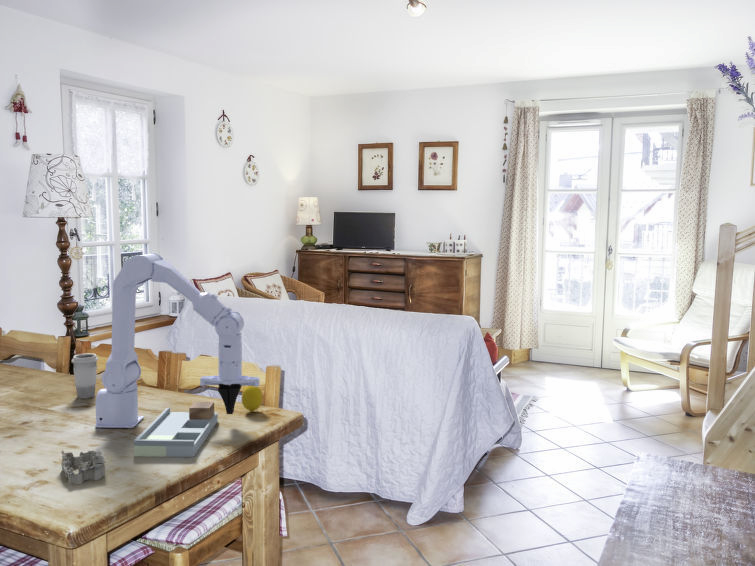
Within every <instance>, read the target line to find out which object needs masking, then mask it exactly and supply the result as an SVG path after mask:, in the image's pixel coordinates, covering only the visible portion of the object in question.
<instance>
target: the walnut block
mask: <svg viewBox="0 0 755 566" xmlns="http://www.w3.org/2000/svg"><path fill="white" fill-rule="evenodd" d="M188 412H189V420H210V418H211V417H212V416H213V414H214V413H215V401H194V402H193V403H192V404H191V405H190V406H189V407H188Z"/></svg>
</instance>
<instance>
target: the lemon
mask: <svg viewBox="0 0 755 566" xmlns="http://www.w3.org/2000/svg"><path fill="white" fill-rule="evenodd" d="M241 403H242V406H243V407H244V408H245V410H247V411H250V412H251V413H254V412H255V411H256V410H258V409H259V408H260V406H261V405H262V403H263V392H262V390H261V387H259V386H258V387H255V386H245V387H244V389H243V391H242V394H241Z"/></svg>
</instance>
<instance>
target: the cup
mask: <svg viewBox="0 0 755 566" xmlns="http://www.w3.org/2000/svg"><path fill="white" fill-rule="evenodd" d="M98 361H99V357H98V356H97V354H96V353H87V352H86V353H78V354H75V355H73V357H72V359H71V363H72V364H73V367H72V368H73V377H74V384H75V389H76V390H75V391H76V397H77V399H85V400H86V399H90V398H95V396H96V384H97V370H98V364H97V362H98Z"/></svg>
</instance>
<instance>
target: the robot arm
mask: <svg viewBox="0 0 755 566" xmlns="http://www.w3.org/2000/svg"><path fill="white" fill-rule="evenodd" d="M148 281H151V282H155V283H165V284H167V285H168V286H170V287H171V288H172V289H174V290H175V291H176V292H178V293H179V294H181V295H182V296H183V297H185V298H186V299H187V300H189V301H190V303H192V309H193V311H194V312H196V313H197V314H198V315H199V316H200V317H201V318H203V319H204V320H205V321H206V322H207V323H209V324H210V325H211V326H212V327H214V329H215V332H216V334H217V335H218V343H217V344H218V346H217V347H218V351H217V352H218V353H217V354H218V358H217V359H218V374H217V375H205V376H204V375H202V376H201V377H200V379H199V380H200V383H199V384H200V387H201V386H202V387H203V386H218V387H217V392H218V394H219V395H220V397H221V399H222V401H223V404H224V407H225V411H226V415H233V414H234V413H235V411H234V410H235V405H236V402H237V398H238V396H239V394H240V391H241V389H242V386H245V387H247V386H255V387H259V386H260V382H261V381H260V379H261V377H259V376H250V375H249V376H248V375H242V373H243V371H242V370H243V369H242V366H243V363H242V362H243V358H242V357H243V356H242V355H243V354H242V353H243V345H242V344H243V342H242V330H243V329H244V326H245V322H244V318H243V316H242V315H241V314H240V313H239V311H236V310H234V311H233V309H232V308H231V307H230V306H228V307H227V306H226V305H225V304H224V303H222V302H221V301H220V300H219V299H217V298H218V295H216V294H215V293H212V294H211V293H210V292H202V291H200V289H198V288H197V287H196V285H194V284H193V283H192V282H191V281H190V280H188V278H187V277H185V276H184V275H183V274H182V273H181V272H180V271H179V270H177V269H176V267H175V266H174V265H172V264H171V263H170V261H168V260H167V259H164V258H163V257H162V256H161V255H160V254H159V253H156V252H149V253H146V254H136V255H133V256H131V257H130V258H128V259H127V260H125V261H123V264H122V267H121V269H120V271H119V272H118V274H117V275H116V277H115V278H114V280H113V283H112V311H111V313H112V314H111V317H112V319H111V352H110V354H109V356H108V358H107V360H106V362H105V370H104V371H103V373H102V375H101V383H102V386H103V387H104V388H100V389H99V390H98V391H97V394H96V395H95V396H96V398H95V425H94V428H105V429H106V428H110V429H111V428H112V429H114V428H115V429H116V428H117V429H124V428H125V429H133V428H135V426H137V425H138V424H139V422H141V421H142V420H143V419H144V417H145V416H144V415H139V404H138V401H139V399H138V396H139V395H138V393H139V392H138V383H137V381H138V380H139V379H140V377H141V375H142V368H141V366H140V364H139V359H138V353H137V352H136V351H135V339H136V338H135V337H136V335H135V334H136V332H135V331H136V330H135V329H136V326H135V325H136V298H137V297H136V294H137V289H139V288H140V287H141V286H143V285H144V284H145V283H147V282H148Z"/></svg>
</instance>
